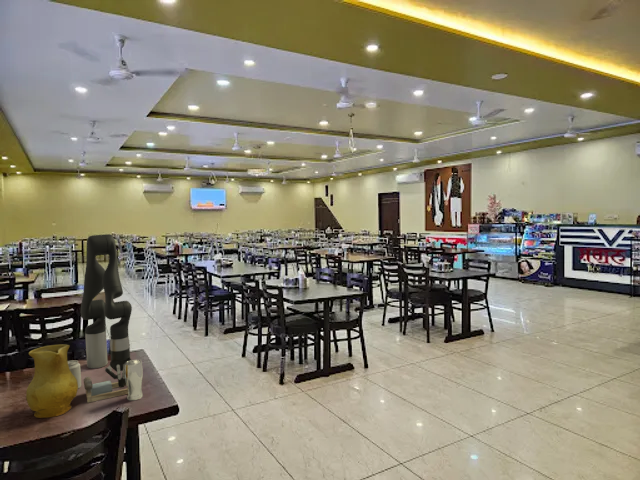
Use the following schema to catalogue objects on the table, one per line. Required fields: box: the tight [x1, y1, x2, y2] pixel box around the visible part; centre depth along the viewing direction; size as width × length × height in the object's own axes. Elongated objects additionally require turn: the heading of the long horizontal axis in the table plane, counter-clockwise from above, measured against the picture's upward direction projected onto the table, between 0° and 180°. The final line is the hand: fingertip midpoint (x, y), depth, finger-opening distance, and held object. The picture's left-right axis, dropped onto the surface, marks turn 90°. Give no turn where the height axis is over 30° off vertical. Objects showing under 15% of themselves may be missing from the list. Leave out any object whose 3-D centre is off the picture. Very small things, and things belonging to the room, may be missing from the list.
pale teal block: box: [91, 380, 113, 396], centre depth 181 cm, size 6×8×4 cm
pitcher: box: [25, 343, 79, 419], centre depth 166 cm, size 17×19×25 cm
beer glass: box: [124, 359, 144, 402], centre depth 176 cm, size 7×7×15 cm
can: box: [67, 359, 82, 390], centre depth 185 cm, size 8×8×12 cm
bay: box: [83, 376, 128, 404], centre depth 180 cm, size 11×17×7 cm, turn 122°
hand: (122, 386), depth 184 cm, fingers closed
